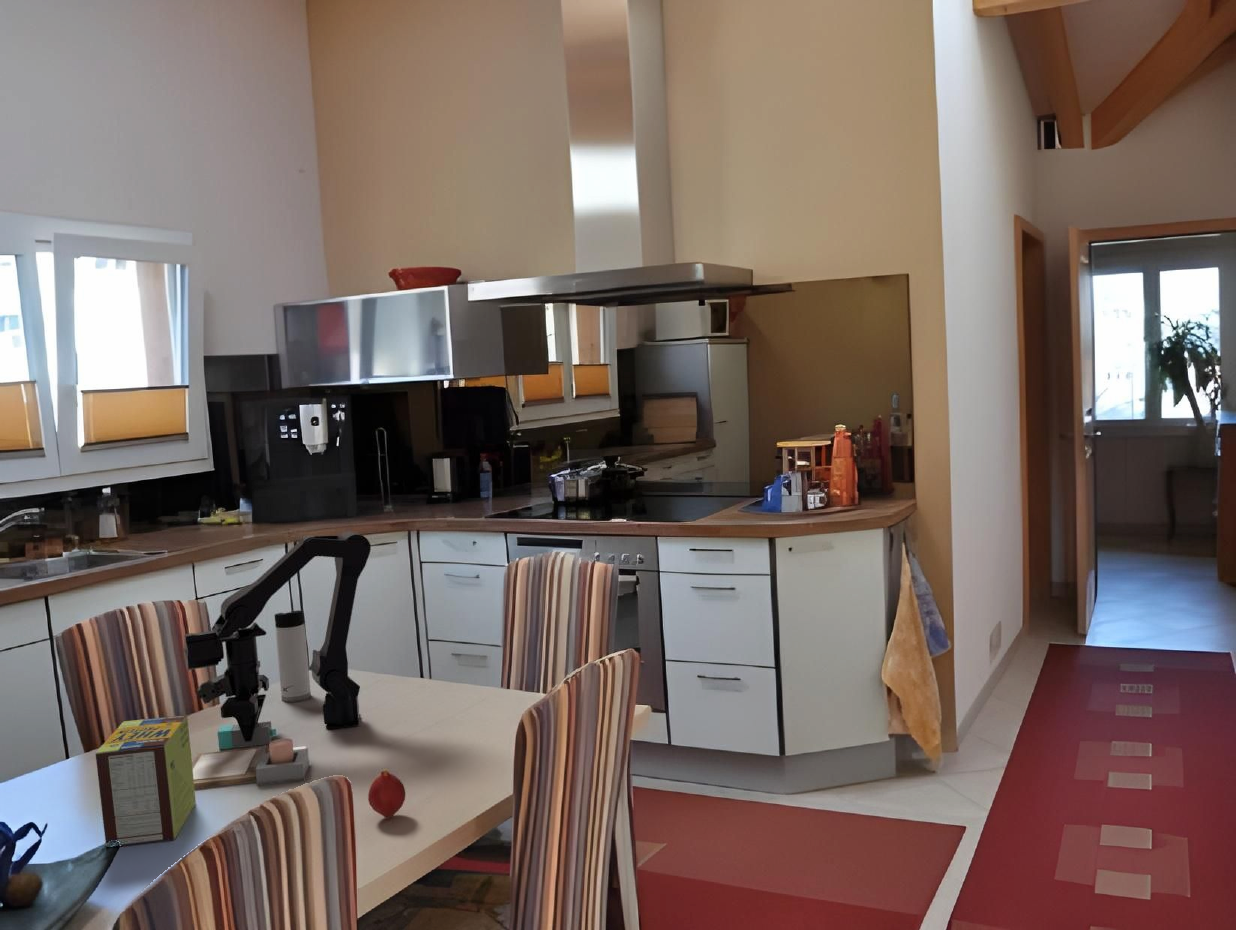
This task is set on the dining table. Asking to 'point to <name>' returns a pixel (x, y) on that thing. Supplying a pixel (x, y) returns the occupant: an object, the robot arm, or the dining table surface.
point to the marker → (234, 738)
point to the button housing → (282, 769)
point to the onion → (386, 794)
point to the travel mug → (292, 656)
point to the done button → (281, 751)
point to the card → (299, 748)
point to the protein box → (146, 780)
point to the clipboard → (226, 767)
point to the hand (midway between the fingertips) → (249, 738)
